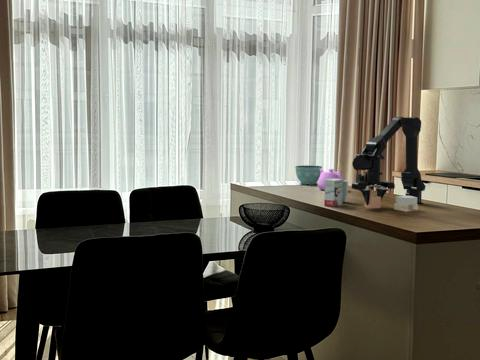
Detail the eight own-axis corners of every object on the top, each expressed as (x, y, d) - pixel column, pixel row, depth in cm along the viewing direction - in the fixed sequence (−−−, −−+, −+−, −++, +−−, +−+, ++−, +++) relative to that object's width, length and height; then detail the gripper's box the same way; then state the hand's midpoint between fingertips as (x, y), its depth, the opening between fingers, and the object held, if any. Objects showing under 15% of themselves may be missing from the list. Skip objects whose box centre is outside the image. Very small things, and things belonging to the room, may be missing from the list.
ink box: (333, 207, 246) (334, 180, 245) (323, 205, 249) (324, 179, 248) (342, 204, 253) (343, 178, 251) (332, 203, 256) (333, 178, 254)
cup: (349, 201, 264) (349, 180, 263) (344, 203, 257) (345, 181, 256) (333, 200, 267) (333, 179, 266) (328, 202, 260) (329, 181, 259)
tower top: (409, 202, 243) (409, 195, 243) (417, 204, 237) (417, 197, 237) (395, 202, 242) (396, 196, 242) (403, 205, 236) (403, 197, 235)
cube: (374, 206, 249) (374, 195, 249) (380, 208, 245) (381, 196, 244) (364, 206, 248) (364, 195, 247) (370, 208, 243) (371, 197, 242)
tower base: (405, 209, 245) (405, 202, 244) (417, 211, 239) (418, 204, 238) (393, 210, 241) (393, 203, 241) (405, 212, 235) (406, 205, 235)
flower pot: (294, 185, 332) (294, 166, 330) (295, 182, 347) (296, 165, 346) (321, 185, 329) (321, 167, 328) (322, 183, 345) (322, 165, 344)
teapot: (350, 191, 304) (351, 169, 302) (330, 192, 298) (330, 170, 296) (328, 187, 321) (329, 167, 320) (309, 188, 315) (309, 167, 314)
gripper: (381, 167, 255) (380, 201, 257) (345, 168, 249) (344, 203, 250) (396, 169, 245) (394, 205, 246) (359, 170, 238) (357, 206, 240)
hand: (372, 204), depth 246 cm, fingers open, 5 cm apart
